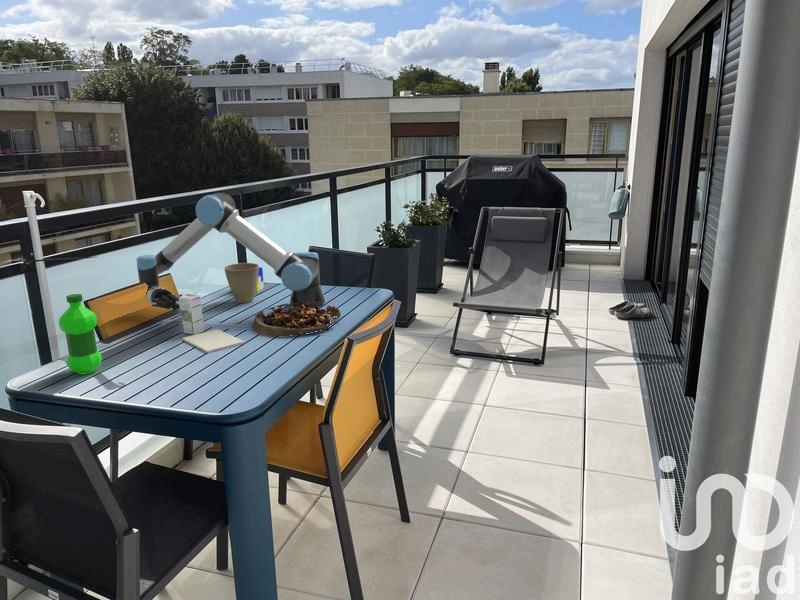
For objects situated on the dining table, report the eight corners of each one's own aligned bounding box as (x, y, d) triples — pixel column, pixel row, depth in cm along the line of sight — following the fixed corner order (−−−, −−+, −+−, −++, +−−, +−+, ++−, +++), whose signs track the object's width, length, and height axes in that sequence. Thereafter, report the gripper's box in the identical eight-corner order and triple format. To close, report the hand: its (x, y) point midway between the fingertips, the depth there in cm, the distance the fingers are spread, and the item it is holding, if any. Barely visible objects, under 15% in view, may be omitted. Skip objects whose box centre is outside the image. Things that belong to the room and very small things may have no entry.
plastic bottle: (94, 363, 201) (82, 289, 194) (109, 370, 194) (98, 294, 188) (62, 372, 193) (49, 296, 187) (77, 380, 187) (64, 301, 180)
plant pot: (224, 299, 277) (221, 265, 273) (257, 295, 283) (254, 261, 279) (230, 307, 264) (227, 271, 260) (264, 302, 270) (262, 267, 266)
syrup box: (205, 331, 232) (201, 294, 228) (194, 335, 227) (189, 298, 223) (193, 329, 235) (189, 292, 231) (182, 333, 229) (178, 296, 226)
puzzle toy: (263, 287, 298) (262, 267, 296) (257, 292, 289) (255, 271, 286) (244, 287, 299) (242, 267, 297) (236, 292, 290) (235, 271, 287)
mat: (182, 340, 222) (182, 337, 222) (217, 331, 232) (217, 329, 231) (207, 353, 208) (207, 351, 208) (244, 343, 217) (244, 341, 217)
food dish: (329, 310, 261) (328, 293, 259) (351, 334, 231) (351, 315, 229) (245, 318, 249) (244, 299, 246) (257, 344, 219) (256, 323, 217)
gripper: (176, 302, 253) (202, 313, 237) (145, 309, 245) (169, 321, 228) (174, 285, 251) (200, 295, 235) (142, 291, 243) (167, 301, 226)
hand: (185, 307), depth 231 cm, fingers closed
